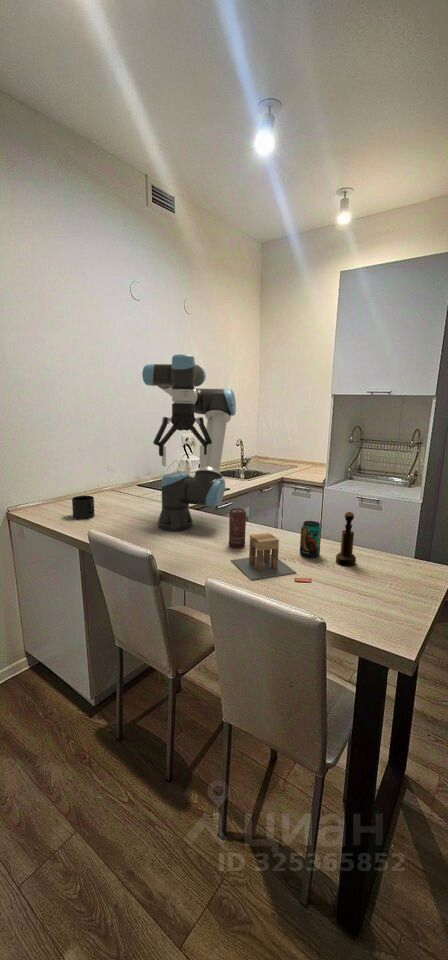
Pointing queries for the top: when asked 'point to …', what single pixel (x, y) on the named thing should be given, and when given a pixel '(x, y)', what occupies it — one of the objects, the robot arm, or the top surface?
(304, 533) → the beverage can
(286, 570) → the mat
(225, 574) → the top surface
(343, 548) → the dark brown chess piece
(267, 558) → the stool
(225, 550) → the top surface
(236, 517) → the can
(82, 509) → the mug
